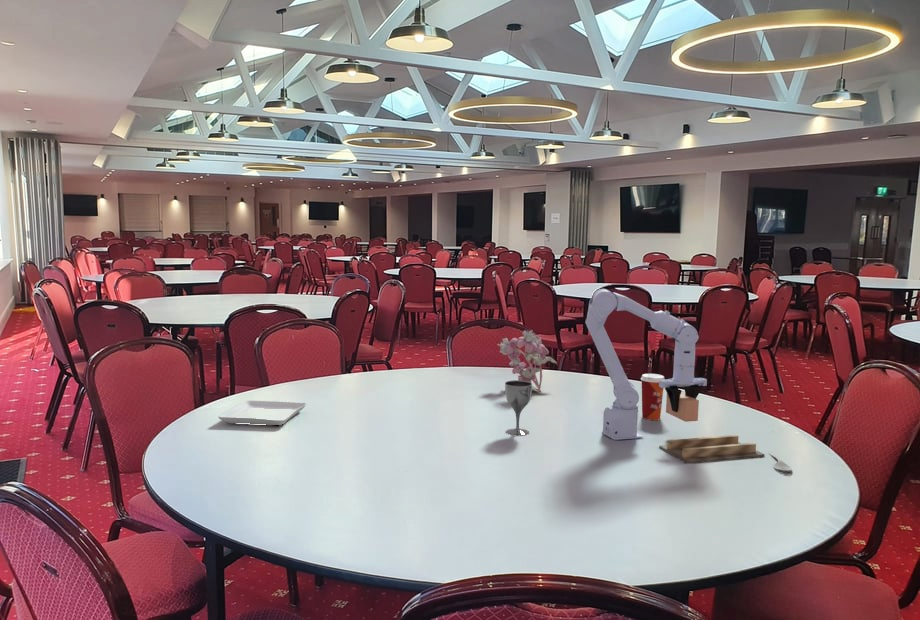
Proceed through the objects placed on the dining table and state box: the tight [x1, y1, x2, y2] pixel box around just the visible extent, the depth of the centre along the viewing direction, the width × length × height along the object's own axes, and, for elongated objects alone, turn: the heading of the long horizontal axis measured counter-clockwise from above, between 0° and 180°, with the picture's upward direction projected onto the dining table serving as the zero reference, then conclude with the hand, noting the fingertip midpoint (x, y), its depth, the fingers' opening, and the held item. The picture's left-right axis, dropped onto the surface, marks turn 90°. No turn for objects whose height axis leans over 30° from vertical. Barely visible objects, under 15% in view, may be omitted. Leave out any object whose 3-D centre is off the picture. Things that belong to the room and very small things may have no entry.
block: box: [665, 392, 700, 423], centre depth 190 cm, size 10×4×6 cm, turn 15°
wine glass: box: [504, 380, 533, 437], centre depth 194 cm, size 8×8×15 cm
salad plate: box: [218, 400, 307, 426], centre depth 207 cm, size 21×21×3 cm
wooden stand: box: [659, 434, 766, 464], centre depth 179 cm, size 24×13×3 cm, turn 105°
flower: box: [497, 329, 558, 394], centre depth 250 cm, size 20×22×25 cm
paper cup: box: [640, 373, 666, 421], centre depth 211 cm, size 8×8×14 cm
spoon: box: [768, 451, 793, 473], centre depth 172 cm, size 4×21×2 cm, turn 165°
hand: (681, 410), depth 190 cm, fingers closed on block, 4 cm apart
